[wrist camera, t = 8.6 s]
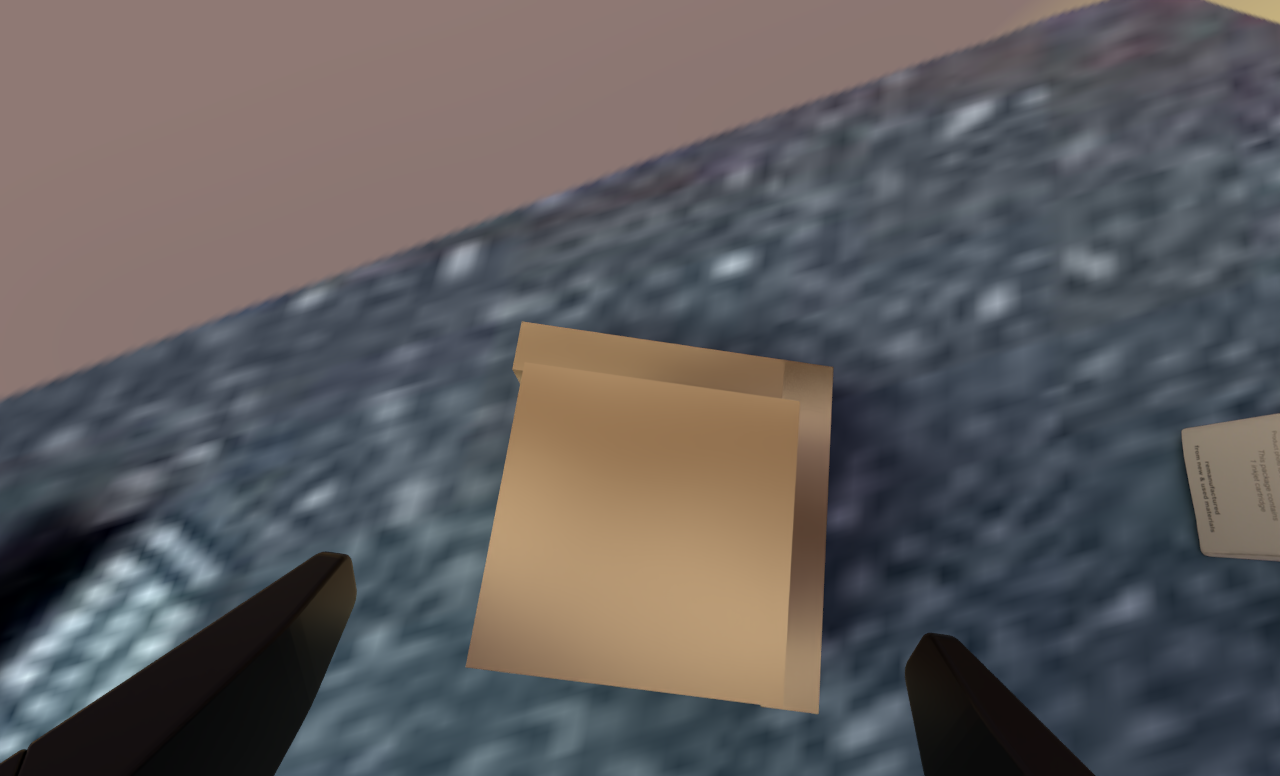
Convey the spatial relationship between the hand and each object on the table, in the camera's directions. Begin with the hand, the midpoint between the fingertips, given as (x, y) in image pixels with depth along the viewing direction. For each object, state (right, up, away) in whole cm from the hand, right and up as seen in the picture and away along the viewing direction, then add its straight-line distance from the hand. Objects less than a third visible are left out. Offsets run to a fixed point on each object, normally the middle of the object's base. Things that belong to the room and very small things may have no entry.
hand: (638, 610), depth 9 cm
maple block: (0, -1, +10) cm, 10 cm away
